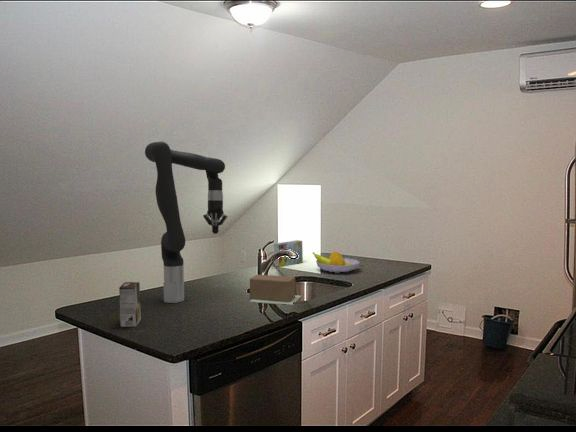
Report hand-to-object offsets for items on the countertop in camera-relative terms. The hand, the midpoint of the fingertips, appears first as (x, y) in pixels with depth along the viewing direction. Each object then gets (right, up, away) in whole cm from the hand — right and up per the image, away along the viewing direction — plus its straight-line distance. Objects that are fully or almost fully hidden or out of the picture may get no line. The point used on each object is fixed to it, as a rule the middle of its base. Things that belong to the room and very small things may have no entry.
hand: (215, 233), depth 247 cm
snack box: (+37, -23, +76) cm, 87 cm away
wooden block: (+20, -26, -8) cm, 33 cm away
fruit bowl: (+66, -25, +55) cm, 90 cm away
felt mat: (+31, -31, -11) cm, 45 cm away
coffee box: (-27, -35, -48) cm, 65 cm away
